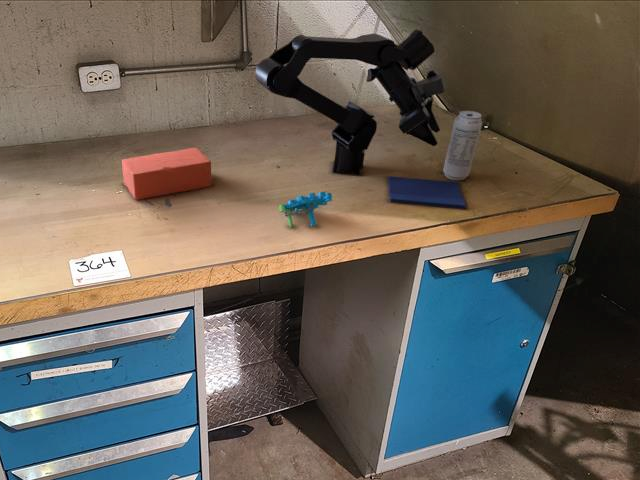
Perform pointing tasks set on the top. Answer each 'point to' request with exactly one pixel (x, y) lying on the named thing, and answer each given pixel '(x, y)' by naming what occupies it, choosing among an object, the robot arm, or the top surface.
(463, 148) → the energy drink can
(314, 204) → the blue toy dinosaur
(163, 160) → the brick
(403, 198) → the book
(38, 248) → the top surface
